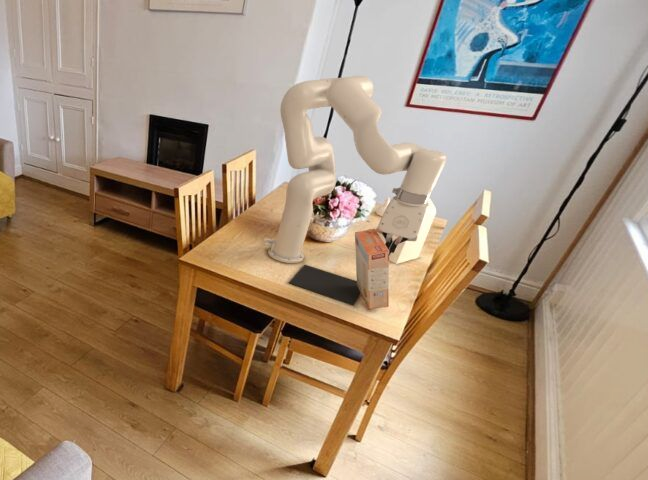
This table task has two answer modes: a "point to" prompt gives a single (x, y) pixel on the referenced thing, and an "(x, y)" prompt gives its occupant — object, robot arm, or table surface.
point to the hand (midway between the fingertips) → (387, 253)
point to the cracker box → (372, 268)
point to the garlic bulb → (382, 208)
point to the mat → (327, 284)
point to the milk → (412, 248)
